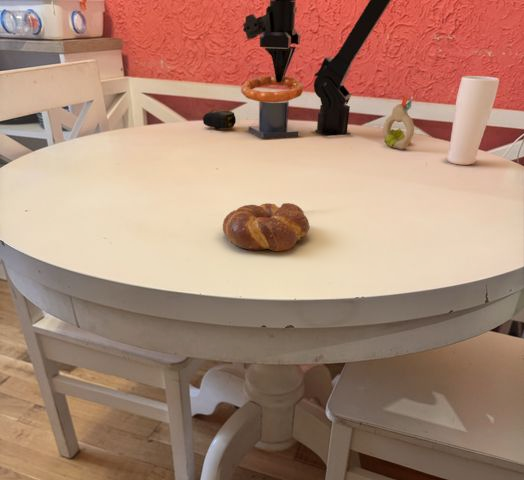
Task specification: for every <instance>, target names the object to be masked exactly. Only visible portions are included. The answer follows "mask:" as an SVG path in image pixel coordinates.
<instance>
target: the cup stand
mask: <svg viewBox="0 0 524 480" xmlns="http://www.w3.org/2000/svg"><path fill="white" fill-rule="evenodd" d="M258 105H259V107H258V125H249V126H248V132H249V133H251V134H253V135H254V136H256V137H259V138H260V139H262V140H269V139H271V140H272V139H285V138H297V137H299V132H300V131H299V130H297V129H294V128H292V127H290V126H289V106H290V100H289V101H281V102H259V101H258Z"/></svg>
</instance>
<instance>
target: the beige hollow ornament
mask: <svg viewBox="0 0 524 480" xmlns="http://www.w3.org/2000/svg"><path fill="white" fill-rule="evenodd" d="M399 91H400V93H401V96H402V101H401V103H399V104H396V105H395V106H394V107H393V108H392V111H391V114H390V115H389V116H388V117H387V118H386V119H385V121H384V124H383V127H382V134H383V138H384V141H383V142H384V143H385V144H386V146H388V147H389V148H391V149H399V150H402V151H403V150H406V149H407V148H408V146H409V145H410V144H411V142H412V139H413V137H414V134H415V124H414V120H413V119H412V117H411V116H410V115H409V114H408V113H409V112H408V111H409V110H411V109H412V102H413V98H414V97H413V96H411V97H410V100H409V101H408V99H407V97H406V95H405V94H404V93H403V91H402V90H399ZM395 122H396V123H401V122H402V123H403V124H404V127H405V133H404V131H403V130H402V129H401V128H397V129H396V130H395V129H393V128H392V126H393V124H394V123H395Z"/></svg>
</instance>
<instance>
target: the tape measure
mask: <svg viewBox="0 0 524 480" xmlns="http://www.w3.org/2000/svg"><path fill="white" fill-rule="evenodd" d="M236 120H237V119H236V115H235V112H234V111H230V110H223V109H220V110H219V109H218V110H217V109H216V110H211V111H209V112H207V113H205V114H204V115H203V116H202V123H203V125H205V126H207V127H209V128H214V129H215V130H218V131H219V130H221V129H222V130H226V129H231V128H233V127H235V124H236V122H237V121H236Z"/></svg>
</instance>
